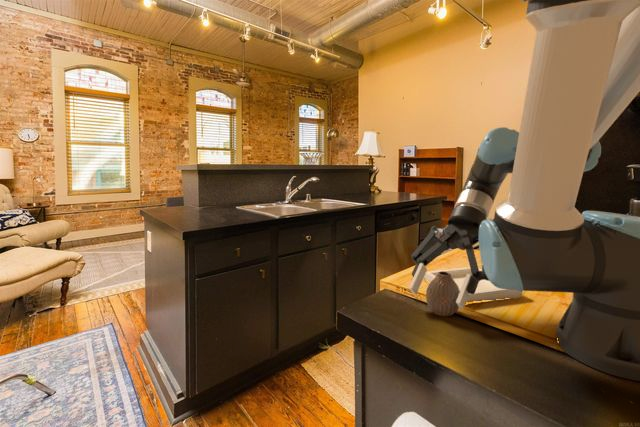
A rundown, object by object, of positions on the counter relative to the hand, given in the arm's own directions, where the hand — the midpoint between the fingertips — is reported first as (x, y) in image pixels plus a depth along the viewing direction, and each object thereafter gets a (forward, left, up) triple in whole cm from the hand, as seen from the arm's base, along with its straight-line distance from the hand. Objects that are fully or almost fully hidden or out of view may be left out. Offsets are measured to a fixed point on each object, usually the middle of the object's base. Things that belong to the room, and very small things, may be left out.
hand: (434, 298), depth 67 cm
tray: (+11, -17, -4) cm, 20 cm away
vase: (+1, -3, -4) cm, 5 cm away
